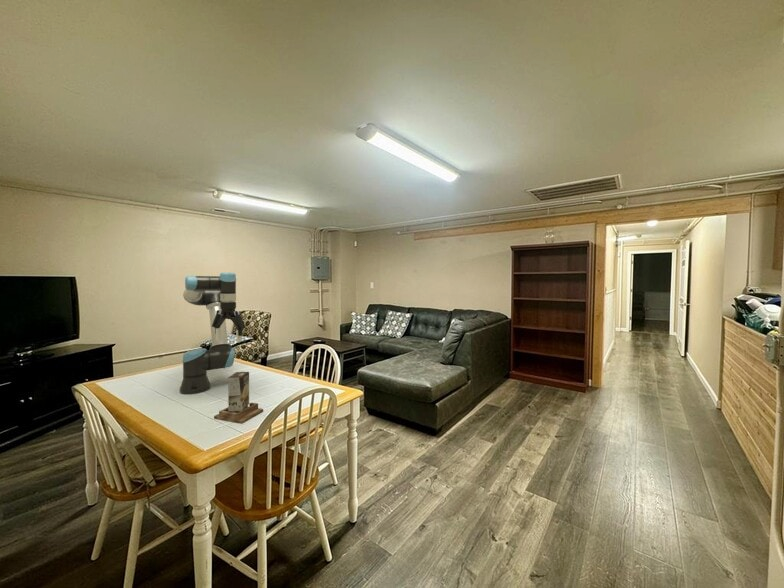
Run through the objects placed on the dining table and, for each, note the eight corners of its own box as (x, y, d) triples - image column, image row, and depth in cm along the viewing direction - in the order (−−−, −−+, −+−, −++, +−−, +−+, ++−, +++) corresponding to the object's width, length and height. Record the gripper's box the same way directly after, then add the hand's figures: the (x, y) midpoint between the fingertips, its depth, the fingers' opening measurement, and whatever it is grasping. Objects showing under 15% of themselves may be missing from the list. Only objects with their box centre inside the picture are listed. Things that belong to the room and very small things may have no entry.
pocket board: (213, 418, 146) (213, 410, 145) (237, 407, 159) (237, 400, 159) (241, 423, 141) (241, 415, 141) (263, 411, 154) (263, 404, 154)
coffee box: (242, 411, 145) (242, 377, 144) (228, 411, 145) (227, 377, 144) (249, 403, 154) (249, 371, 154) (236, 403, 154) (235, 371, 153)
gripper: (204, 301, 167) (204, 340, 168) (241, 302, 160) (242, 344, 160) (215, 300, 174) (216, 338, 175) (252, 301, 167) (252, 341, 168)
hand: (228, 341), depth 168 cm, fingers open, 13 cm apart
